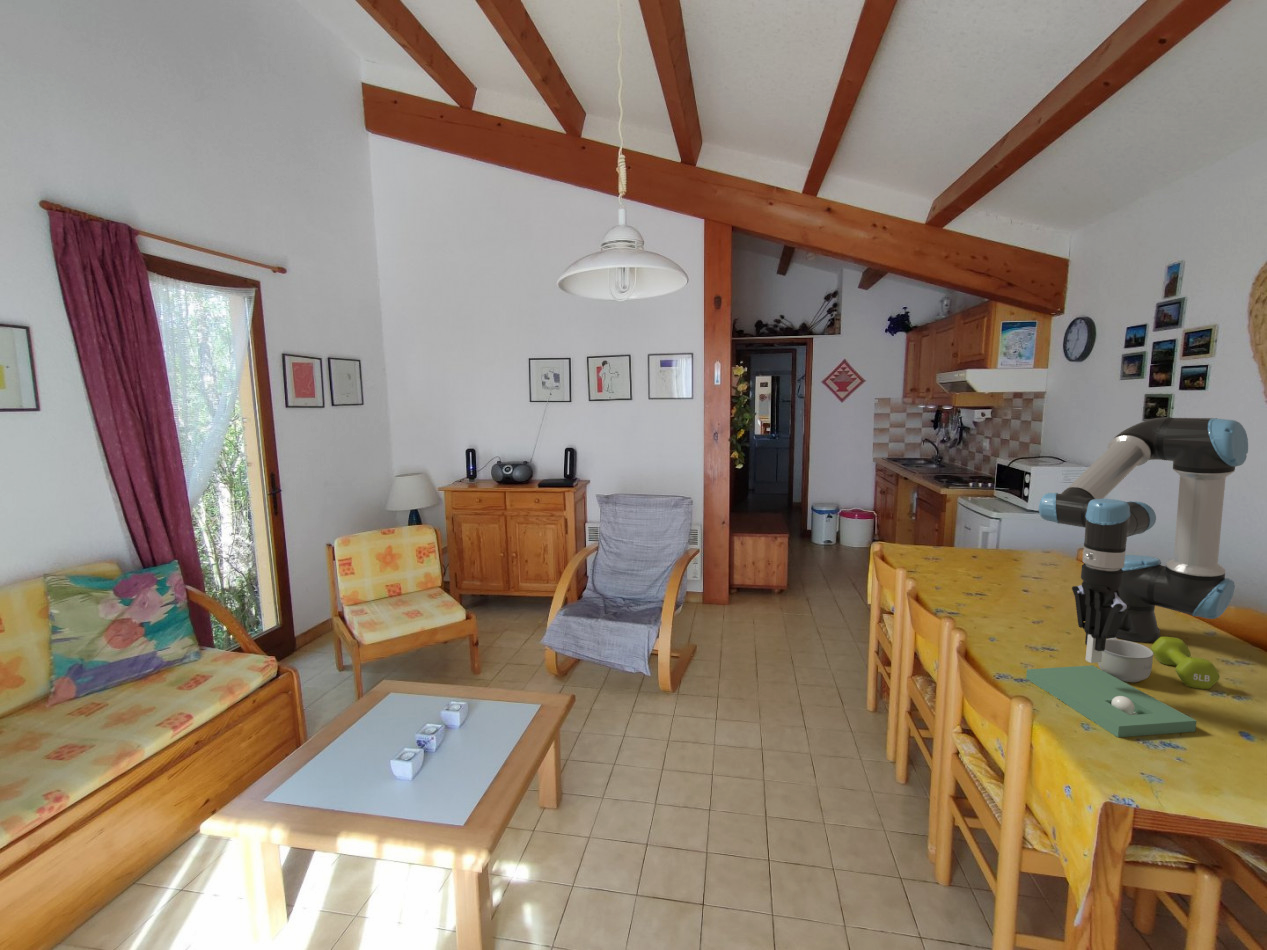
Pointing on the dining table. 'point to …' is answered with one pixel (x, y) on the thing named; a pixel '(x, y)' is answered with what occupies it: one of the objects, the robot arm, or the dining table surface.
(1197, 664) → the dumbbell
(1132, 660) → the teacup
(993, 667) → the dining table surface
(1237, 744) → the dining table surface
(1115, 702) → the ball
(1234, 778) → the dining table surface
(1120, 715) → the putting mat
